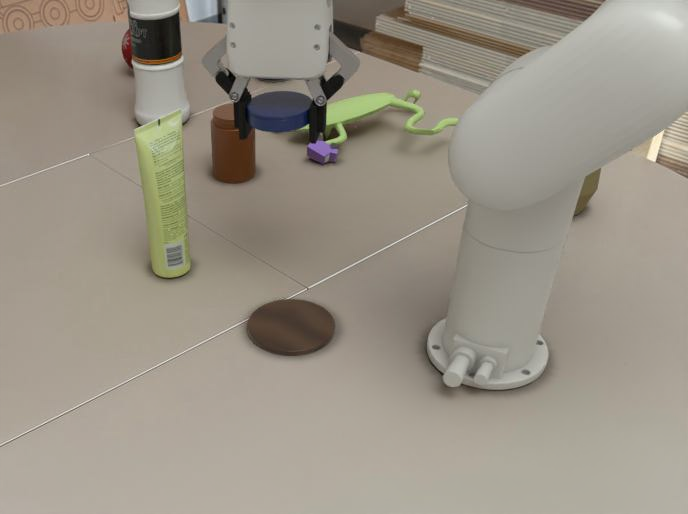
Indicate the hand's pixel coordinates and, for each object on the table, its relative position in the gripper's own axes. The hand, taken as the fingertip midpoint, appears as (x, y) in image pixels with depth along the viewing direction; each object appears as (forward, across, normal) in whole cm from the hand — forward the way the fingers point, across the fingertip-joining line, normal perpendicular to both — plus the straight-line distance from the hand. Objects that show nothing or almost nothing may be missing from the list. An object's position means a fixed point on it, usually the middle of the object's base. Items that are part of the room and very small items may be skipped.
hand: (280, 135), depth 87 cm
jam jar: (+19, +13, -28) cm, 36 cm away
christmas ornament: (+18, +39, -64) cm, 78 cm away
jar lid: (-3, 0, 0) cm, 3 cm away
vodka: (+19, +30, -44) cm, 57 cm away
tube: (+19, +14, -2) cm, 24 cm away
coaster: (+19, -3, +8) cm, 21 cm away
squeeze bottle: (+20, -33, -26) cm, 46 cm away
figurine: (+19, -4, -44) cm, 48 cm away
